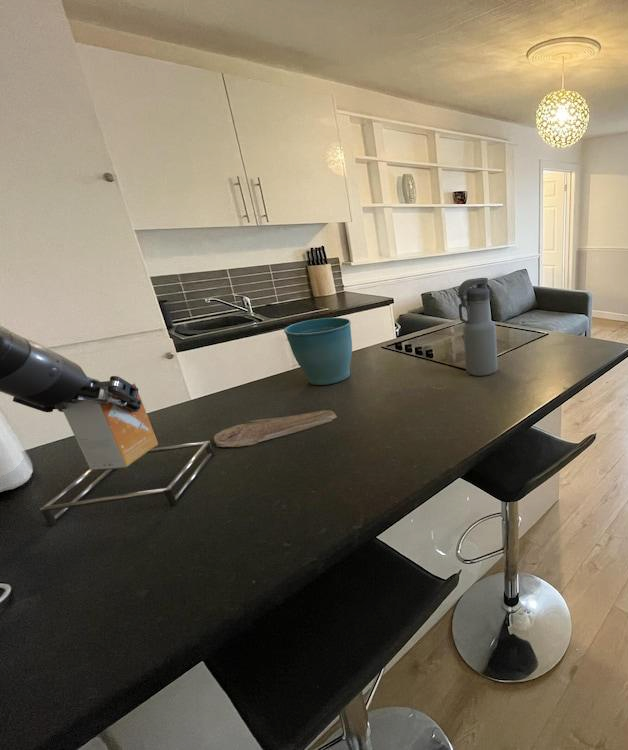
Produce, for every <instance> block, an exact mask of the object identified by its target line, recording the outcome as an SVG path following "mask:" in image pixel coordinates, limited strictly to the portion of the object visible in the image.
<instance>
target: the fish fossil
mask: <svg viewBox="0 0 628 750" xmlns="http://www.w3.org/2000/svg"><path fill="white" fill-rule="evenodd" d="M335 419H338V416H337V415H336V413H335V412H333V411H332V410H330V409H329V410H328V409H327V410H320V411H318V410H317V411H312V412H307V413H301V414H295V415H288V416H280V417H271V418H263V419H256V420H255V419H254V420H250V421H249V422H246V423H243V424H242V423H240V424H236V425H233V426H230V427H228V428H225V429H223V430H221V431H219V432H218V433H215V435H214V436H213V442H214V444H215V446H216V447H217V448H240V447H246V446H247V447H248V446H253V445H257V444H259V443H260V442H264V441H269V440H272V439H276V438H281V437H283V436H287V435H288V436H289V435H291V434H292V435H293V434H295V433H298V432H301V431H306V430H309V429H312V428H315V427H318V426H322V425H324V424H328V423H330V422H332V421H333V420H335Z"/></svg>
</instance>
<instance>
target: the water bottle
mask: <svg viewBox="0 0 628 750" xmlns="http://www.w3.org/2000/svg"><path fill="white" fill-rule="evenodd" d="M488 283H489V278H488V277H477V278H470V279H466V280H464V281H463V282H462V283H461V284H460V285H459V287H458V290H457V297H458V298H459V299H460V303H459V304H458V317H459V320H460V322H461V323H462V322H463V323H464V324H463V326H462V334H463V345H464V359H465V360H464V361H465V370H466V372H467V374H469V375H471V376H474V377H486V376H490V375H493V374H494V373H496V372H497V371H498V368H499V367H498V366H499V365H498V347H497V346H498V344H497V325H496V323H495V322H494V321H493V320H492V319H491V314H490V311H491V310H490V300H491V299H490V298H491V295H490V289H489V288H488ZM463 308H465V309H466V310H465V311H466V317H467V319H464V316H463V310H462V309H463Z"/></svg>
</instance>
